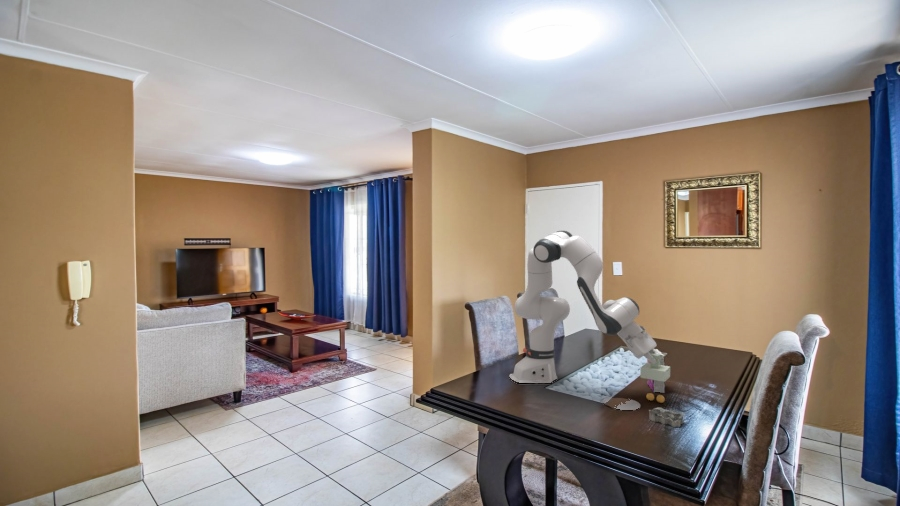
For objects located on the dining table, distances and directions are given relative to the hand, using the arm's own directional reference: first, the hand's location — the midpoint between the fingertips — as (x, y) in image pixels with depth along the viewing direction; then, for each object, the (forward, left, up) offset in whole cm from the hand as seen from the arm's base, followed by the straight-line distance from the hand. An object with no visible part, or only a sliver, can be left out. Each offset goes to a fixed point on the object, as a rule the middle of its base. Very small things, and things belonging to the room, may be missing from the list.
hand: (657, 361), depth 175 cm
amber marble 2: (+1, -1, -16) cm, 16 cm away
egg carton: (-9, -18, -17) cm, 26 cm away
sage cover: (0, 0, -6) cm, 6 cm away
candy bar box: (+10, +14, -17) cm, 24 cm away
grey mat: (-15, 0, -16) cm, 23 cm away
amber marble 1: (-2, +2, -16) cm, 17 cm away
